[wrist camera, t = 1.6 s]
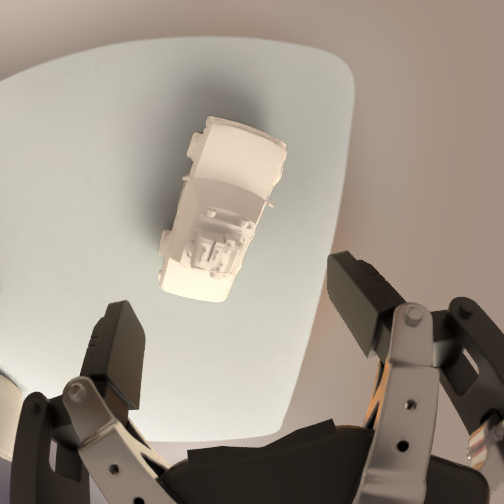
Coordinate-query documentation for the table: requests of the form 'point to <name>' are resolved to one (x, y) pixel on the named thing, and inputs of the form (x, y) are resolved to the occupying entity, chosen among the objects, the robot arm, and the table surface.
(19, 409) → the mug
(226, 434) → the table surface
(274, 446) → the robot arm
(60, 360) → the table surface
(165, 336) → the table surface
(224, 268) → the toy car
